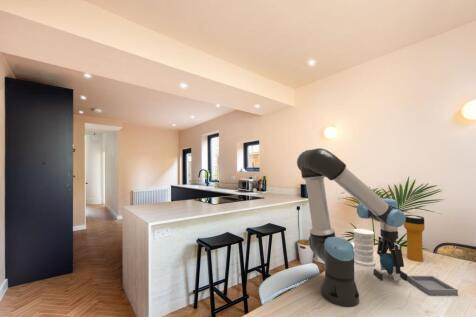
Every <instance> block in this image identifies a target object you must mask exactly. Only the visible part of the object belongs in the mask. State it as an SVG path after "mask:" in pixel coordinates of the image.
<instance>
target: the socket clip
mask: <svg viewBox="0 0 476 317" xmlns="http://www.w3.org/2000/svg"><path fill="white" fill-rule="evenodd" d="M373 276H374V277H376V278H377V279H378V280H379V281H382V282H383V281H384V274H383V273H382V272H380V271H379V270H378V269H376V268H373ZM407 276H408V274H407V273H406V272H404V271H403V270H401V269H400V279H402V280H404V282H405V281H407ZM407 282H408V281H407Z"/></svg>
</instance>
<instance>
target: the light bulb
mask: <svg viewBox="0 0 476 317" xmlns="http://www.w3.org/2000/svg"><path fill="white" fill-rule="evenodd" d="M379 262H380V263H381V265H382V266H383V268H385V269H386V270H385V271H386V273H387V277H388V278H389V279H391V278H393V265H394V262H393V258H392V255H391V252H387V253H384V254H383V255H381V257H380V256H379Z"/></svg>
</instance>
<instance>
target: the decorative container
mask: <svg viewBox="0 0 476 317" xmlns="http://www.w3.org/2000/svg"><path fill="white" fill-rule="evenodd" d="M352 233H353V240H354V241H353V247H354V254H355V256H354V264H356V265H359V266H362V267H367V268H369V267H371V268H372V267H374V266H376V261H375V260H374V247H375V246H374V235H375V232H374V231H373V230H370V229H365V228H354V229H352Z"/></svg>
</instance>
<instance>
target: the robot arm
mask: <svg viewBox="0 0 476 317" xmlns="http://www.w3.org/2000/svg"><path fill="white" fill-rule="evenodd" d="M296 159H297V160H296V165H297V168H298V169H299V171H300V173H301V179H303V180H304V181H305V187H306V191H307V192H306V193H307V199H308V200H307V202H308V205H309V213H310V214H309V215H310V219H311V229H310V230H309V236H308V240H307V241H308V246H309V249H310V250H311V251H312V253H313V254H314V255H315V256H317V257H318V258H319V259H320V260H322V261H323V263H324V276H323V280H322V282H321V285H320V294H321V296H322V298H323V299H325V300H327V301H328V302H329V303H332V304H334V305H336V306H341V307H355V306H357V305H359V303H360V293H359V291H358V290H359V289H358V287H357V284H356V280H355V263H354V257H355V254H354V244H353V243H352V242H350V241H349V240H347V239H345V238H342V237H340V236H339V237H338V236H336V231H335V229H334V228H332V226H331V220H330V214H329V207H328V201H327V193H326V187H325V178H327V179H328V180H329V181H334V182H335V183H336V184H337V185H338V186H340V187H341V188H342V189H343V190H344V191H346V192H347V193H348V194H349V195H351V196H352V197H353V198H354V199H355V200H356V201H357V202H359V204H357V205H356V213H357V215H358V217H359V218H361V219H365V220H368V219H370V220H373V221H376V222H379V224H380V225H379V226H380V229H379V230H380V231H379V232H380V236H378V238H377V239H378V243H377V249H376V254H377V255H378V256H379V258H380V257H381V255H383V254H384V253H388V252H389V253H391V255H392V258H393V262H394V265H393V274H392V278H393V280H394V281H400V280H401V277H400V270H401V268H404V267H405V263H404V257H403V252H402V248H403V247H402V245H401V244H398V243H397V240H398V239H399V231H398V230H399V228H400V227H403V226H404V223H405V220H406V217H405V215H406V214H405V213H404V212H403V211H402V210H400V209H399V208H398V206H399V204H398V201H397V200H396V199H392V198H382V197H381V196H379V195H378V194H377V193H376V192H375V191H374V190H373V189H372V188H370V187H369V186H368V185H366V184H365V182H363V181H362V180H361V179H360V178H359V177H358V176H356V175H355V174H354V173H353V172H352V171H350V170H349V168H347V164H346V162H345V163H344V161H342V160H341V159H340V158H339V157H338V156H336V155H335V154H333V153H332V152H331V151H329V150H327V149H325V148H314V149H307V150H305V151H302V152H301V153H300V154H299V155H298V157H297V158H296ZM380 271H386V269H385V268H383V266H382V265H381V263H380Z"/></svg>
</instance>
